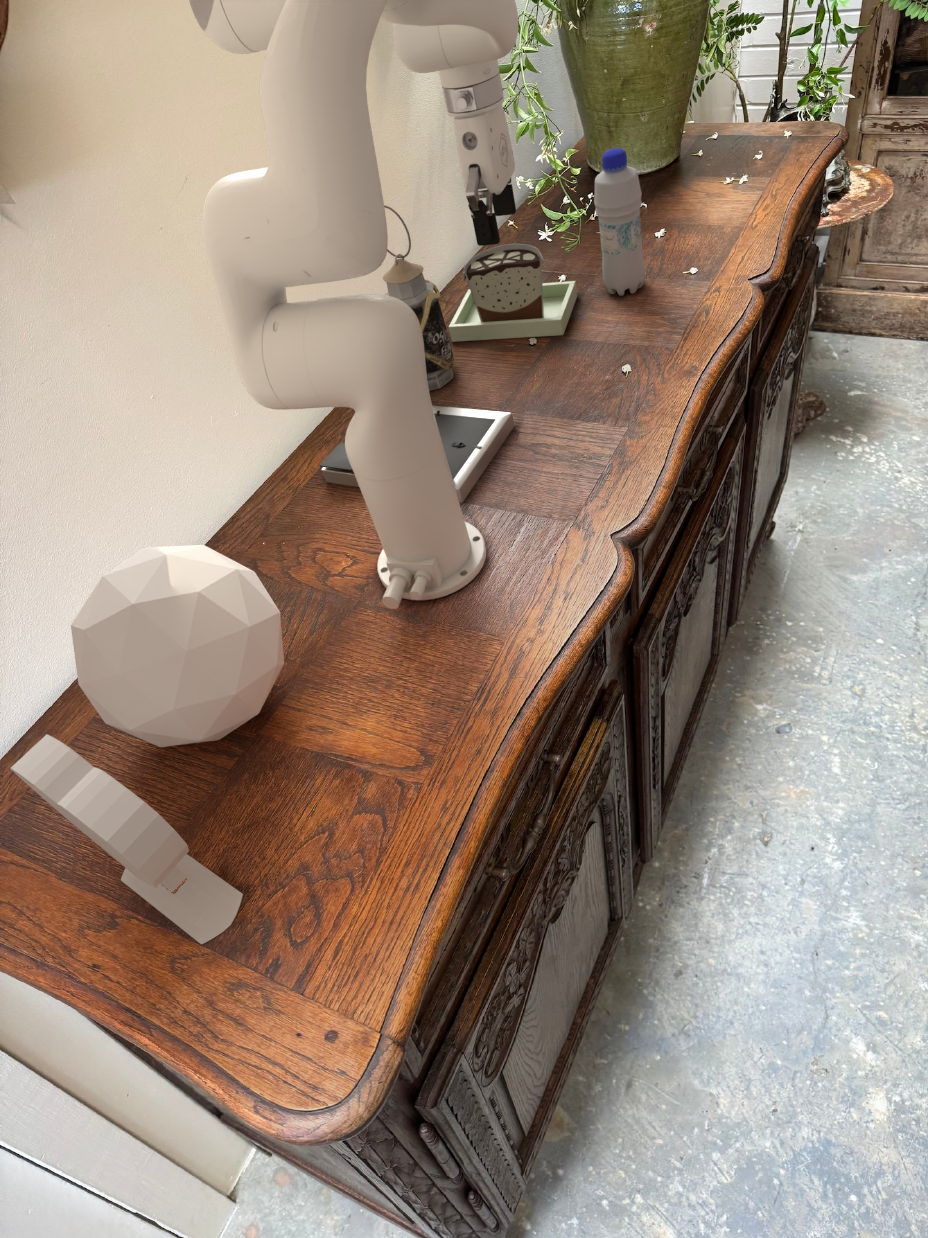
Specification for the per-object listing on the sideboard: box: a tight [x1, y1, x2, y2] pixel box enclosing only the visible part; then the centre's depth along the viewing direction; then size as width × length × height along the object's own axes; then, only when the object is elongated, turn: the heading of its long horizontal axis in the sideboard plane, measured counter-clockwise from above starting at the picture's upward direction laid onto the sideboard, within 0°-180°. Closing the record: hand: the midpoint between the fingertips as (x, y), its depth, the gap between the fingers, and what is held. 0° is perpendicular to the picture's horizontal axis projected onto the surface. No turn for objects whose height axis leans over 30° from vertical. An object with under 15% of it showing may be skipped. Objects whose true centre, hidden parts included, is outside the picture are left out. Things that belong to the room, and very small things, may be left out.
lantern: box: [382, 204, 455, 392], centre depth 114 cm, size 9×8×25 cm
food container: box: [462, 243, 547, 322], centre depth 126 cm, size 12×6×10 cm, turn 84°
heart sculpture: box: [9, 733, 244, 945], centre depth 67 cm, size 16×5×18 cm, turn 55°
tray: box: [448, 280, 578, 343], centre depth 129 cm, size 12×18×2 cm, turn 74°
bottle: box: [593, 147, 646, 297], centre depth 122 cm, size 7×7×20 cm
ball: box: [70, 544, 285, 748], centre depth 81 cm, size 19×20×20 cm
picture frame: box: [318, 405, 515, 503], centre depth 110 cm, size 16×3×21 cm
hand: (497, 228), depth 120 cm, fingers open, 9 cm apart
